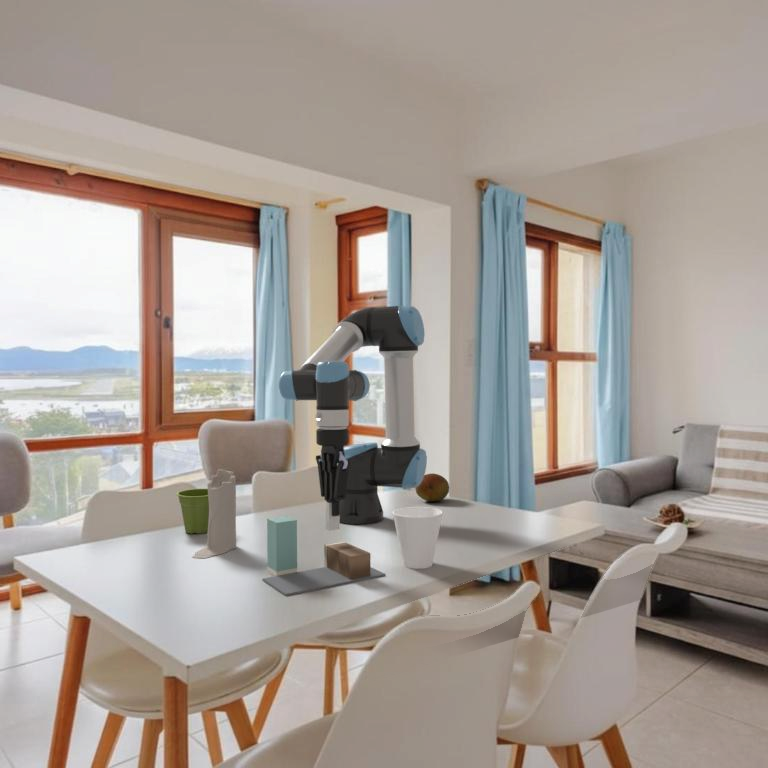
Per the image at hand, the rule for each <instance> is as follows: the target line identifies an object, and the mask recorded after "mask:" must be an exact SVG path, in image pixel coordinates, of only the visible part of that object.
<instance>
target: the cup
mask: <svg viewBox="0 0 768 768" xmlns="http://www.w3.org/2000/svg"><path fill="white" fill-rule="evenodd" d="M443 515H444V512H443V511H442V509H440V508H435V507H428V506H409V507H408V506H407V507H400V508H396V509H393V510H392V516H393V520H394V526H395V530H396V534H397V535H396V536H397V539H398V540H397V541H398V544H399V545H398V546H399V550H400V555H401V560H402V565H403V566H404V567H406V568H409V569H415V570H417V569H418V570H422V569H428V568H431V567H432V566H433V563H434V559H435V554H436V548H437V542H438V538H439V533H440V528H441V523H442V519H443Z"/></svg>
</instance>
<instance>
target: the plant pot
mask: <svg viewBox="0 0 768 768" xmlns="http://www.w3.org/2000/svg"><path fill="white" fill-rule="evenodd" d="M176 496H178V501H179V504H180V507H181V514H182V519H183V525H184V531H185V532H186V533H187V534H189V533H190V535H192V534H199V535H202V534H201V533H203V534H207V533H208V523H209V498H208V488H190V489H184V490H180V491H177V492H176ZM206 532H207V533H206Z"/></svg>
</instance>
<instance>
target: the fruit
mask: <svg viewBox="0 0 768 768" xmlns="http://www.w3.org/2000/svg"><path fill="white" fill-rule="evenodd" d="M414 489H415V493H416V495H417V496H418V497H419V498H421V499H422V500H424V501H426V502H431V503H432V502H433V503H435V502H439V501H442V500H444V499H445V498H447V496H448V494H449V492H450V484H449V482H448V480H447V479H446V478H445V477H444V476H443V475H440V474H438V473H426V474H424V477H423V480H422V482H421V484H420V485H419V486H418V487H416V488H414Z"/></svg>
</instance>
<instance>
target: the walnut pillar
mask: <svg viewBox="0 0 768 768" xmlns="http://www.w3.org/2000/svg"><path fill="white" fill-rule="evenodd" d="M323 547H324V548H323V549H324V550H323V551H324V554H323V555H324V557H323V558H324V560H323V561H324V566H323V567H327V568H329V569H331V570H333V571H335V572H337V573H339V574H341V575H343V576H344V577H346V578H348V579H350V580H352V579H357V578H362V577H367V576H371V575H370V567H371V552H370V551H366V550H364V549H363V548H359V547H357V546H354V545H352V544H350V543H347V542H345V541H338V542H332V543H327V544H324V546H323Z"/></svg>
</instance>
